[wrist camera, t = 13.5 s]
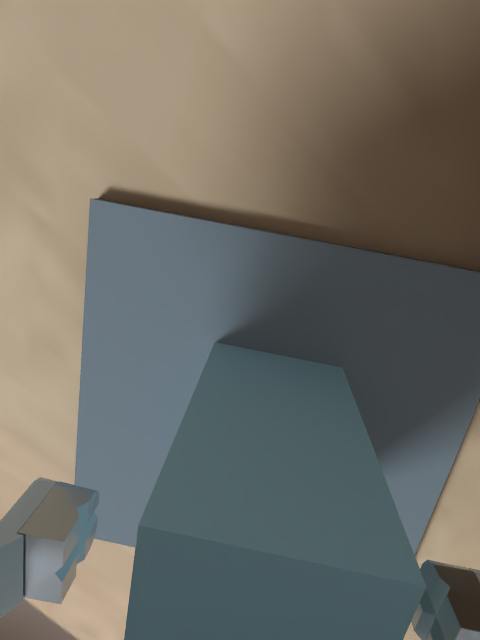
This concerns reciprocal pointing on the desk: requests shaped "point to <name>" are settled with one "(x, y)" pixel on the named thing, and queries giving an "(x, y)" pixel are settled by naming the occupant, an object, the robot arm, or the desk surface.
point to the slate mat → (265, 347)
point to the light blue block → (271, 515)
